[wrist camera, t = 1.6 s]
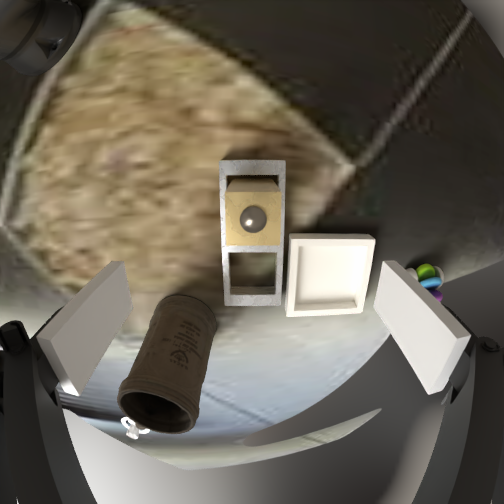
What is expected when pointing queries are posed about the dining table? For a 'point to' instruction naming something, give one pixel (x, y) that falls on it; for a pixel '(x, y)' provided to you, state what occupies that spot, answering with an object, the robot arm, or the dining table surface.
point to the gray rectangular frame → (252, 294)
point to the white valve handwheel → (132, 428)
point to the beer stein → (170, 367)
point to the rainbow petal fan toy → (429, 278)
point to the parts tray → (327, 273)
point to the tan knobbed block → (253, 212)
